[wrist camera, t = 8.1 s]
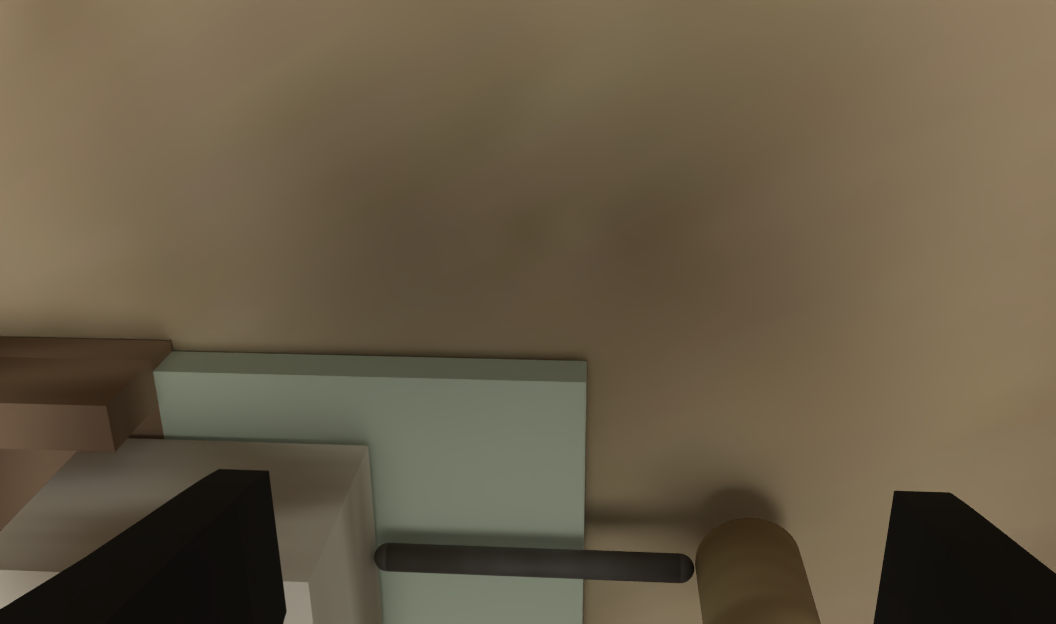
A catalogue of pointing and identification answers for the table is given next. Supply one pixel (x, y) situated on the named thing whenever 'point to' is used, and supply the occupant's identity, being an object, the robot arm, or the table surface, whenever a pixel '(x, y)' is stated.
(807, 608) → the block rod cylinder assembly
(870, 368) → the table surface
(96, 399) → the lane shelf
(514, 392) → the pad
